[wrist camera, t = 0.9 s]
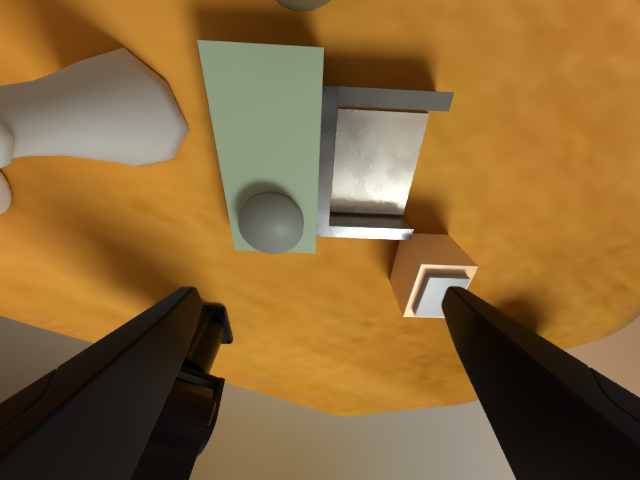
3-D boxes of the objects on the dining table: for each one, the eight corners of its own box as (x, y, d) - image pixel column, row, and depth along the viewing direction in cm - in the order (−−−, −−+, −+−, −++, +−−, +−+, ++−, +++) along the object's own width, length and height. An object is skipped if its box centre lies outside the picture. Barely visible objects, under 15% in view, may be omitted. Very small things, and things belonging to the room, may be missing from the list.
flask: (123, 22, 14) (-174, -94, 6) (208, 133, 17) (101, 165, 9) (57, 92, 16) (-239, 85, 8) (145, 180, 19) (8, 245, 11)
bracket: (401, 226, 22) (410, 239, 19) (316, 222, 21) (316, 236, 19) (436, 93, 16) (454, 92, 14) (322, 87, 16) (322, 85, 14)
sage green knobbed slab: (315, 238, 22) (314, 260, 19) (242, 235, 22) (231, 257, 19) (323, 54, 15) (324, 43, 12) (214, 48, 15) (188, 35, 12)
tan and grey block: (429, 281, 25) (454, 323, 21) (389, 279, 25) (405, 322, 20) (448, 234, 22) (483, 271, 17) (401, 232, 22) (424, 269, 17)
